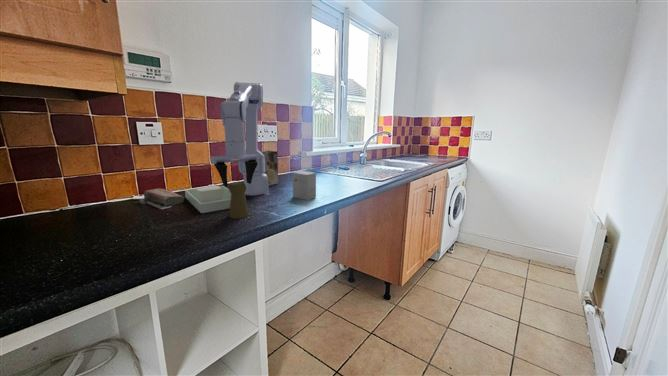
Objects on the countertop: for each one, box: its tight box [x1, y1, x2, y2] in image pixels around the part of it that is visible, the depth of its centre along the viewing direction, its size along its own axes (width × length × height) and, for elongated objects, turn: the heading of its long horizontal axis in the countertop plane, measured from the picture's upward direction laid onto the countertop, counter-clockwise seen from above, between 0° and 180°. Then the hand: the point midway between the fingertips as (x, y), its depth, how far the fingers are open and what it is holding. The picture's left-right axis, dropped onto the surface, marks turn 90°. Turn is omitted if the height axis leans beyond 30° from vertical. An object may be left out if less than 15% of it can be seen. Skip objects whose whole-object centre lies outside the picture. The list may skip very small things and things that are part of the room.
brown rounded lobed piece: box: [228, 181, 249, 220], centre depth 90 cm, size 6×6×11 cm
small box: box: [292, 170, 317, 201], centre depth 114 cm, size 8×6×10 cm
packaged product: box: [139, 188, 185, 210], centre depth 100 cm, size 18×5×10 cm
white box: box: [194, 185, 223, 202], centre depth 105 cm, size 8×6×4 cm
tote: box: [184, 185, 231, 214], centre depth 102 cm, size 14×22×4 cm, turn 39°
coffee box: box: [259, 150, 279, 187], centre depth 134 cm, size 9×6×16 cm
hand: (237, 184), depth 89 cm, fingers open, 7 cm apart
